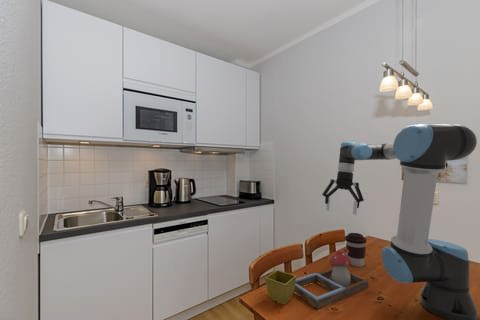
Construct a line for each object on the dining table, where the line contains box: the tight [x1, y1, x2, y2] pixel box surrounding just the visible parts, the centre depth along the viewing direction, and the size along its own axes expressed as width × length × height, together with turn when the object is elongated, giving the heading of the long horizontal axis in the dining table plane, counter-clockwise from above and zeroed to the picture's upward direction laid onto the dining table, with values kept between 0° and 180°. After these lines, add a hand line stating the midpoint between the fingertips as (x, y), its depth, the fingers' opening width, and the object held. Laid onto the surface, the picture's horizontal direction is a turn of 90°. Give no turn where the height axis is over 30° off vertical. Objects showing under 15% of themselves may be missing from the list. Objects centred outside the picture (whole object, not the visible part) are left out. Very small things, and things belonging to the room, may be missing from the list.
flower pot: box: [265, 269, 297, 306], centre depth 91 cm, size 9×9×9 cm
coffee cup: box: [344, 232, 367, 268], centre depth 122 cm, size 10×10×15 cm
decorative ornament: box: [329, 248, 351, 288], centre depth 101 cm, size 9×6×15 cm
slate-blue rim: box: [295, 272, 346, 301], centre depth 95 cm, size 15×15×1 cm
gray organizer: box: [294, 267, 369, 309], centre depth 98 cm, size 15×29×3 cm, turn 118°
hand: (340, 212), depth 123 cm, fingers open, 13 cm apart
